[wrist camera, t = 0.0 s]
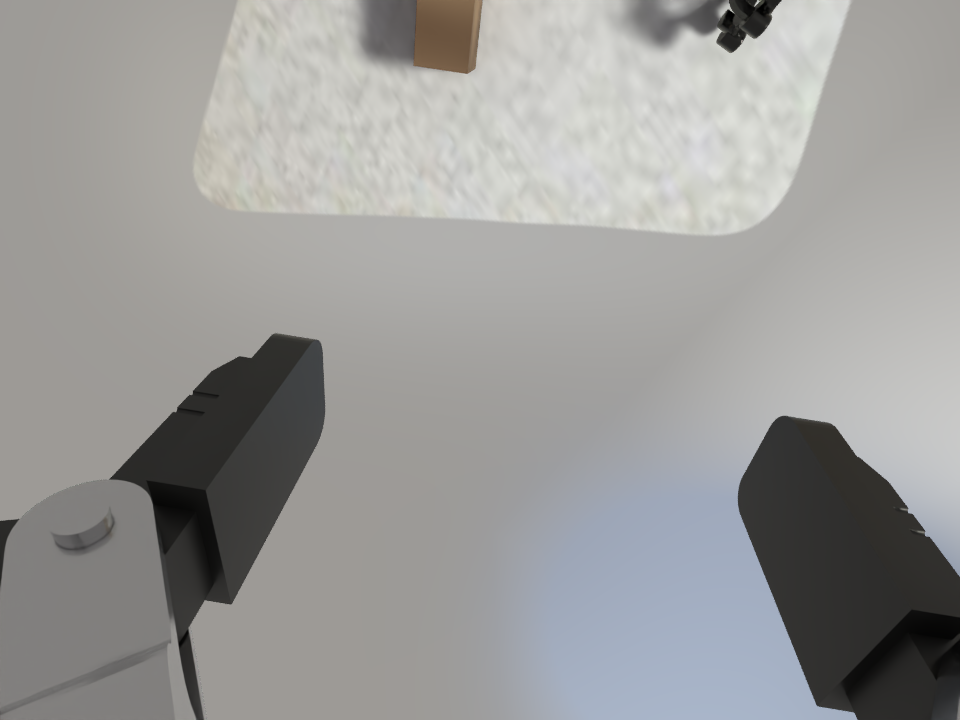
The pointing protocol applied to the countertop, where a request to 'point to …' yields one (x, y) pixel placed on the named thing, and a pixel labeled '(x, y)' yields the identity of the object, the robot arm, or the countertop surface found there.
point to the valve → (744, 22)
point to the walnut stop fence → (447, 34)
